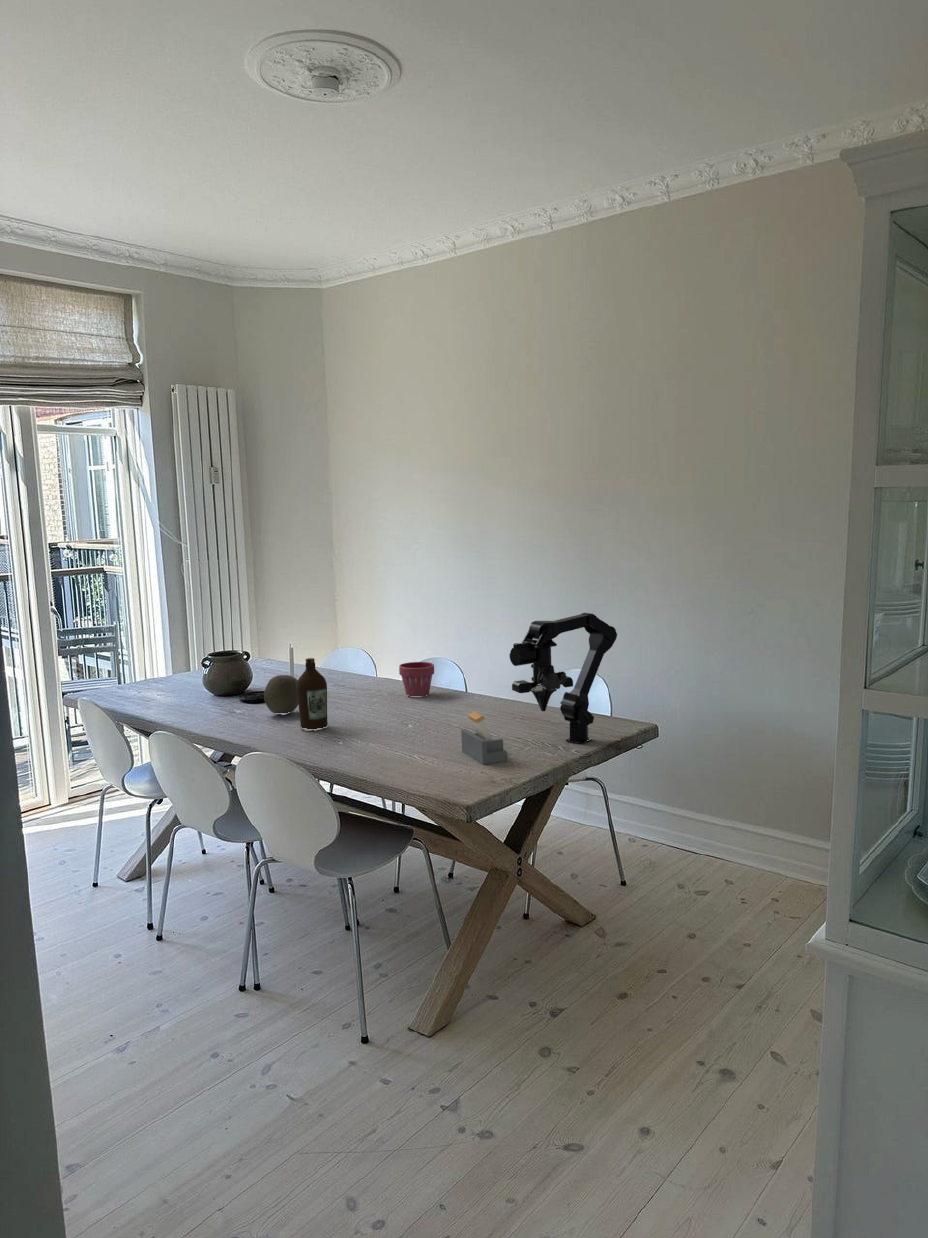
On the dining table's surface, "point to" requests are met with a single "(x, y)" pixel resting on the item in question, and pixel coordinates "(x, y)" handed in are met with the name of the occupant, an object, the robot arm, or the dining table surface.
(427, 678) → the plant pot
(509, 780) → the dining table surface
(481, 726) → the breaker lever
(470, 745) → the breaker box
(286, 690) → the cantaloupe
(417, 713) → the dining table surface
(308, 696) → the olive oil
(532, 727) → the dining table surface
